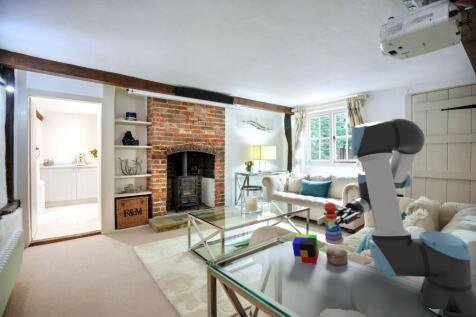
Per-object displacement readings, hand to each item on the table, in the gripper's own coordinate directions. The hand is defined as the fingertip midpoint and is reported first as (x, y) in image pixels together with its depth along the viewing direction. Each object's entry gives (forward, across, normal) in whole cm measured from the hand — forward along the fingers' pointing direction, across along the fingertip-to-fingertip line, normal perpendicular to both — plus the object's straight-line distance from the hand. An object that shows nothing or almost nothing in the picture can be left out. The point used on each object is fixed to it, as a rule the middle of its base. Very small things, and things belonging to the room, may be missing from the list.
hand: (323, 223), depth 107 cm
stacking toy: (-5, 0, -11) cm, 12 cm away
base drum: (-5, 0, -20) cm, 21 cm away
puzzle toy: (+3, +12, -20) cm, 24 cm away
